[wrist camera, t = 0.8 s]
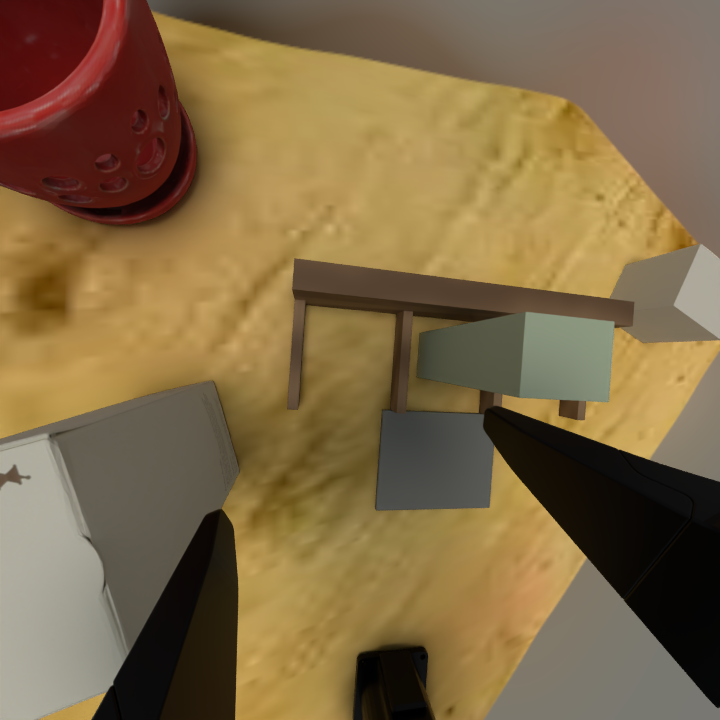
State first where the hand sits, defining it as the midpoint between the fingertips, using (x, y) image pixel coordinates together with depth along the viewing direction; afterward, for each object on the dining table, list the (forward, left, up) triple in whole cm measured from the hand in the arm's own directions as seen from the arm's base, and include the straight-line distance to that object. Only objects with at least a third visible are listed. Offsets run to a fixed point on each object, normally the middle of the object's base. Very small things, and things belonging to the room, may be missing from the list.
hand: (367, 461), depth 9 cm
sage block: (+4, -10, -16) cm, 19 cm away
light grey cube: (+11, -31, -16) cm, 37 cm away
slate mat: (-5, -10, -16) cm, 20 cm away
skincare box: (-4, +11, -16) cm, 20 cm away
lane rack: (+4, -10, -16) cm, 19 cm away
